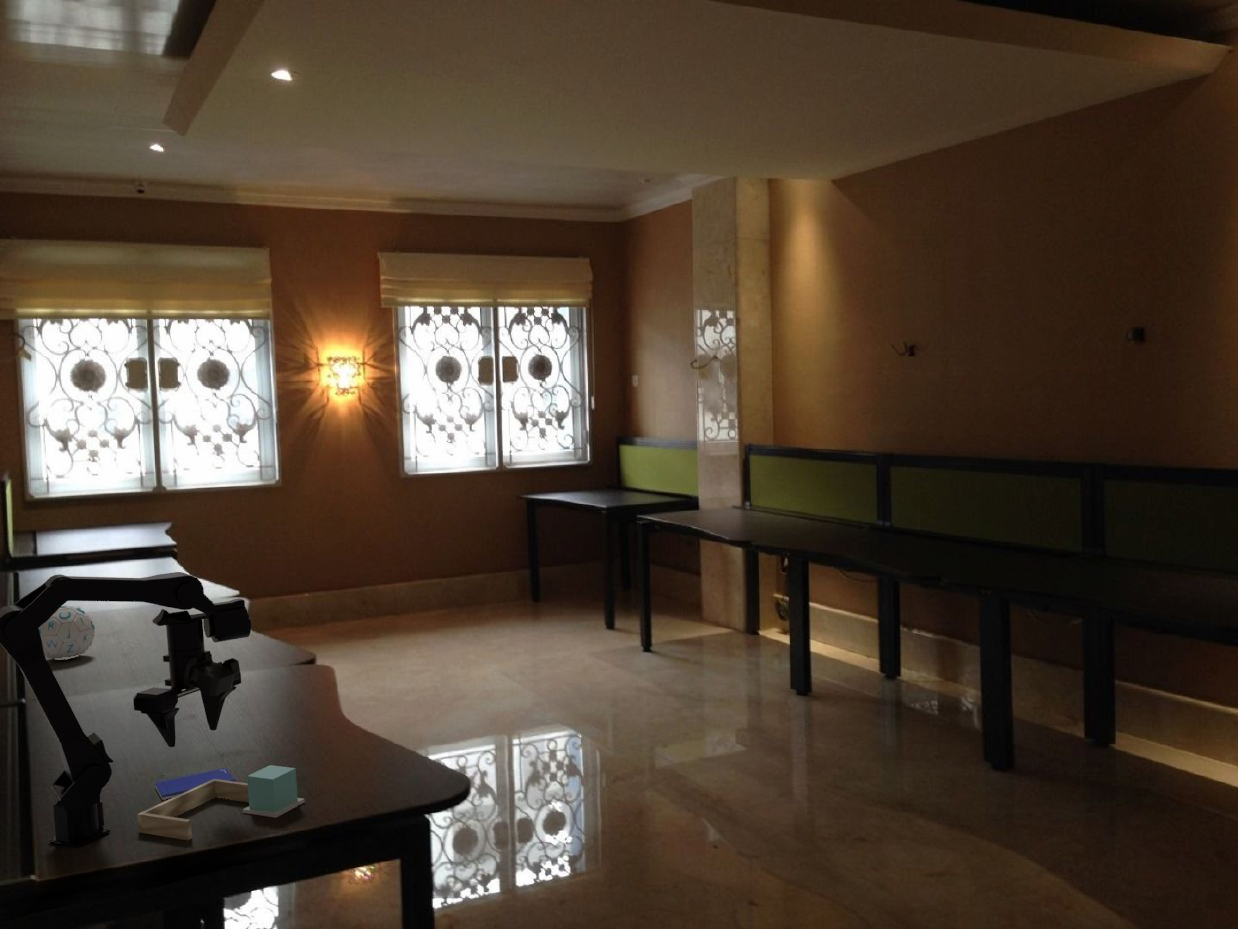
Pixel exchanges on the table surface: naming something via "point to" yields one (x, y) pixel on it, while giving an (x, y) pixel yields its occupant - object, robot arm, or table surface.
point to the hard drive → (190, 782)
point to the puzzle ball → (67, 633)
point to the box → (187, 808)
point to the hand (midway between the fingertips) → (193, 738)
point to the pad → (274, 814)
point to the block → (272, 788)
